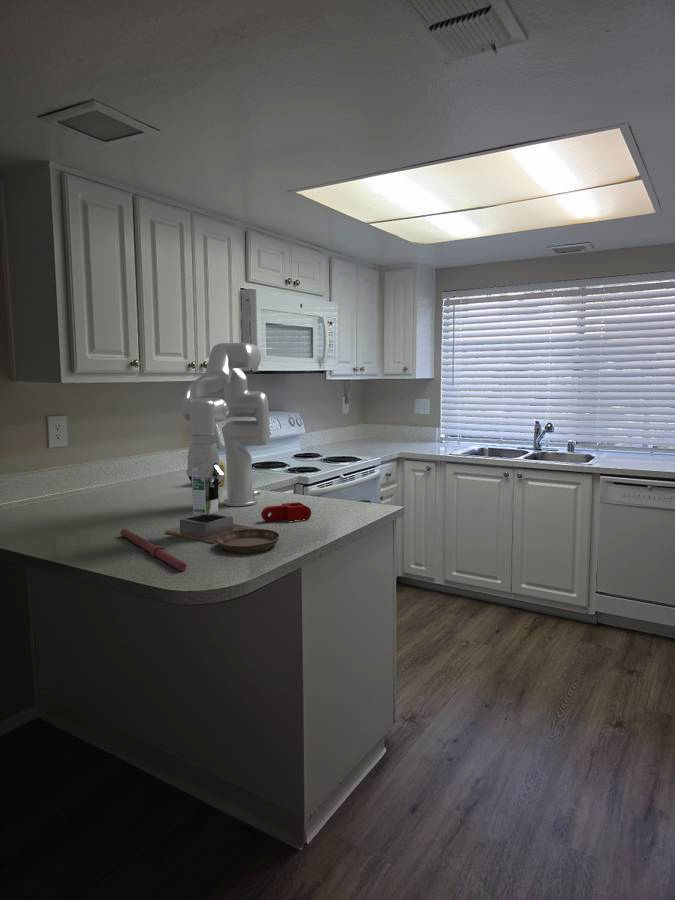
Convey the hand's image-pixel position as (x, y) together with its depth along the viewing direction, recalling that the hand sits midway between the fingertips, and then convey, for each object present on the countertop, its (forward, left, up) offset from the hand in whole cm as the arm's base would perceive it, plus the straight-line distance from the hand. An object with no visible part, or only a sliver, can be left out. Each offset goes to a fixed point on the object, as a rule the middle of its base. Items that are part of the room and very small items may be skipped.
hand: (205, 497), depth 190 cm
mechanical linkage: (-27, +8, -12) cm, 31 cm away
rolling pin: (+23, +2, -12) cm, 26 cm away
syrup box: (0, 0, -5) cm, 5 cm away
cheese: (-61, -64, -12) cm, 89 cm away
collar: (-2, 0, -11) cm, 11 cm away
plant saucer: (+3, +21, -12) cm, 24 cm away
